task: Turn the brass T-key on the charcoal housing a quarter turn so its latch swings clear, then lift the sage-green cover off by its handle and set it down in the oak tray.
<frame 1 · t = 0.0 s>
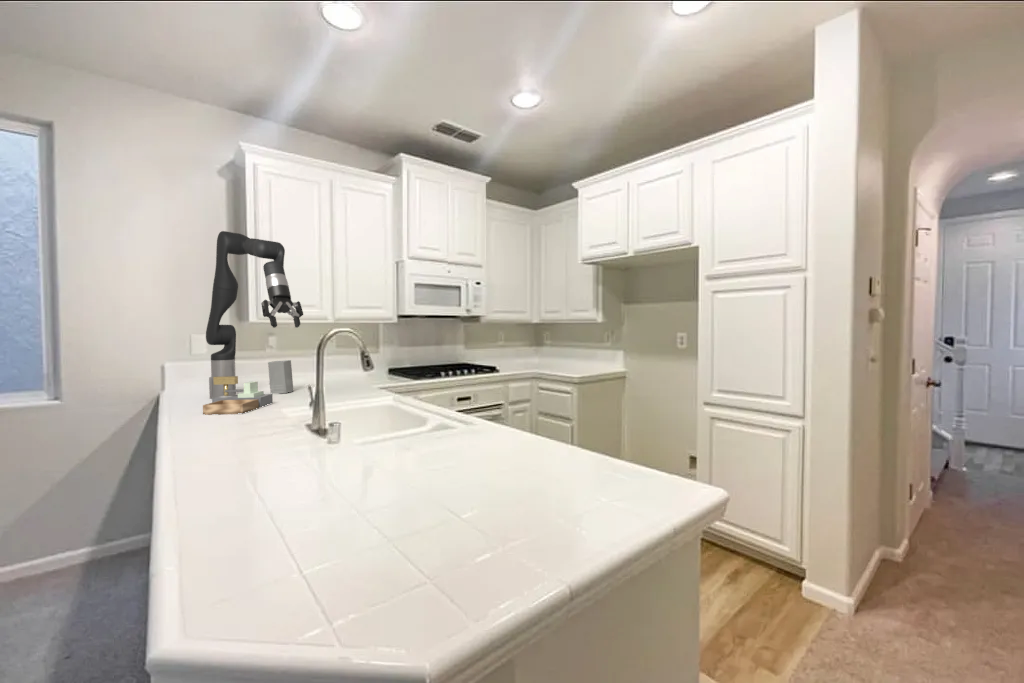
hand: (286, 326, 166), 31 cm above the counter, tool tilted 20°, fingers open, 8 cm apart
cover: (251, 396, 175), point 4 cm above the counter, touching housing
tray: (231, 411, 163), on the counter
skincare box: (281, 393, 213), on the counter
housing: (243, 406, 175), on the counter
key: (230, 386, 175), point 8 cm above the counter, hinge at 0.0°
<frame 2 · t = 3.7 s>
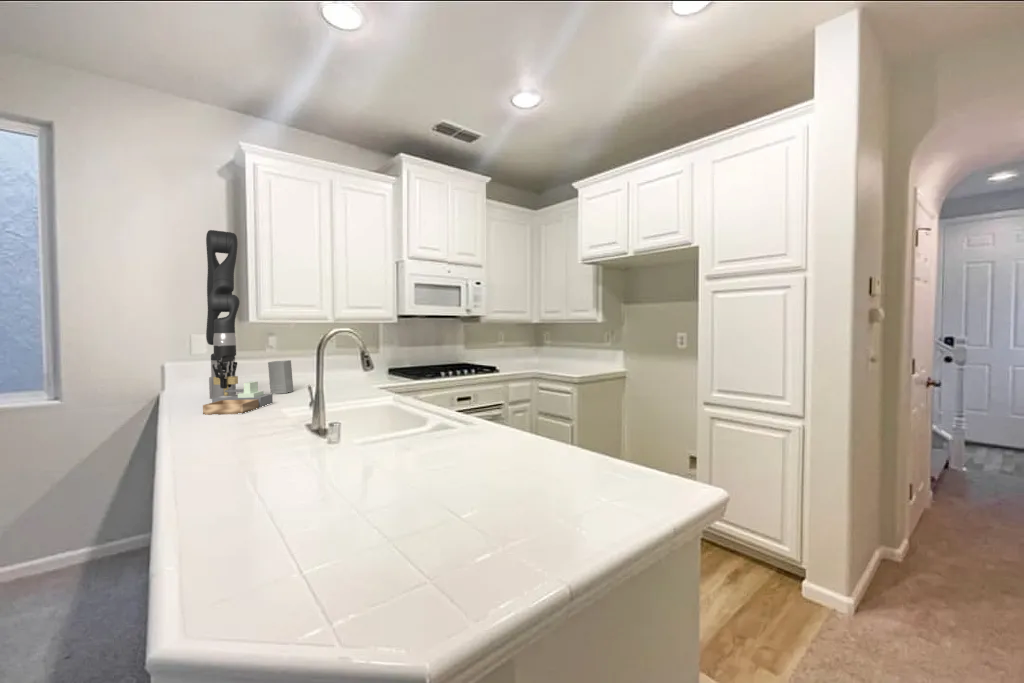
hand: (225, 387, 174), 8 cm above the counter, tool pointing down, fingers closed on key, 2 cm apart
key: (230, 386, 175), point 8 cm above the counter, hinge at 0.0°, touching gripper
everything else where it was.
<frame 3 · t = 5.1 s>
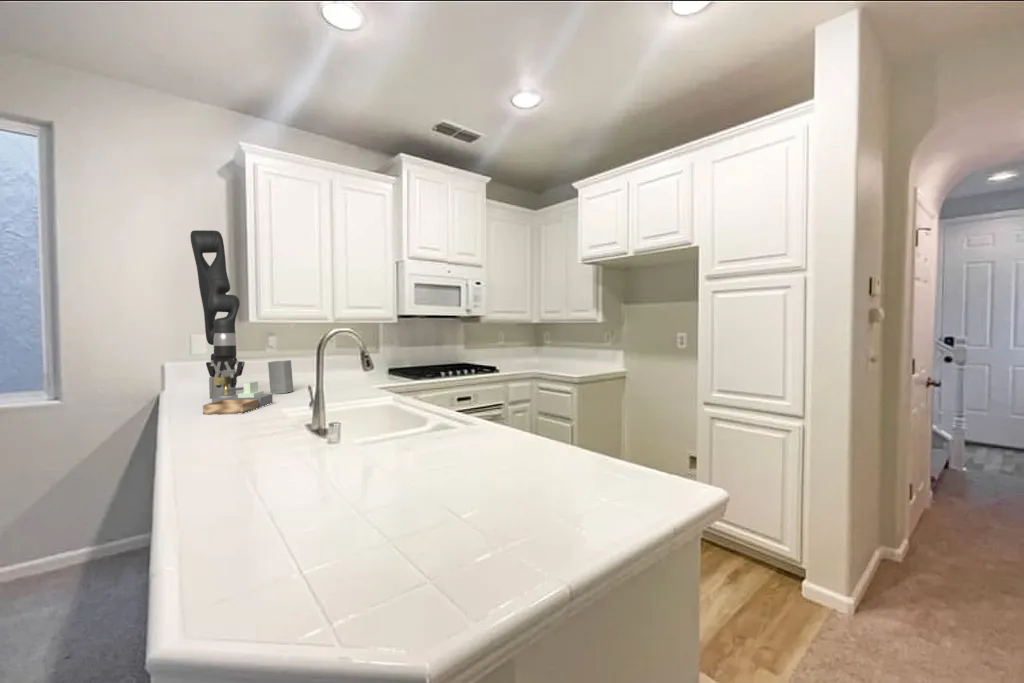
hand: (226, 387, 175), 8 cm above the counter, tool pointing down, fingers open, 4 cm apart
key: (229, 385, 176), point 8 cm above the counter, hinge at 70.1°
everything else where it was.
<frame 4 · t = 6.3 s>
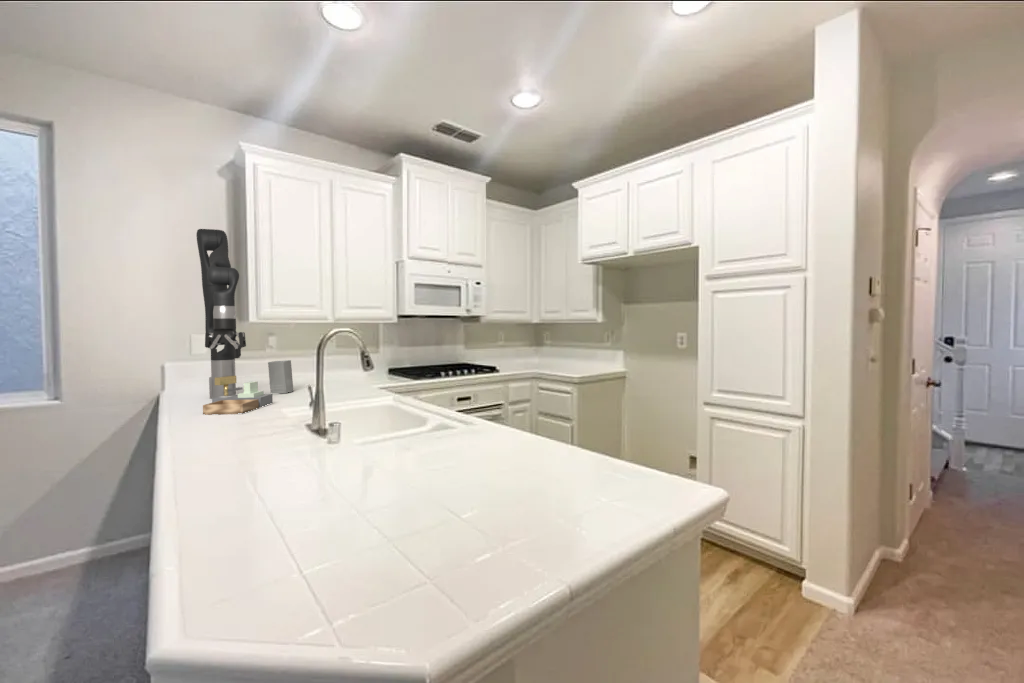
hand: (226, 358, 174), 19 cm above the counter, tool pointing down, fingers open, 8 cm apart
key: (229, 385, 176), point 8 cm above the counter, hinge at 75.5°
everything else where it was.
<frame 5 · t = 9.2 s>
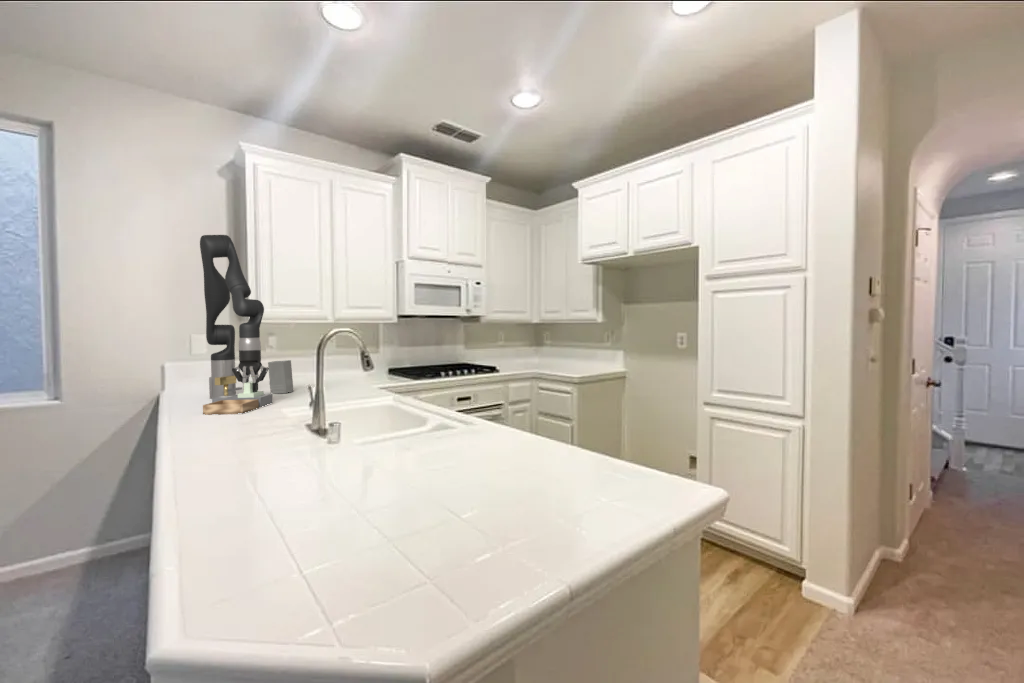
hand: (250, 392, 175), 6 cm above the counter, tool pointing down, fingers closed on cover, 2 cm apart
cover: (251, 396, 175), point 4 cm above the counter, touching gripper, housing
key: (229, 385, 176), point 8 cm above the counter, hinge at 76.2°
everything else where it was.
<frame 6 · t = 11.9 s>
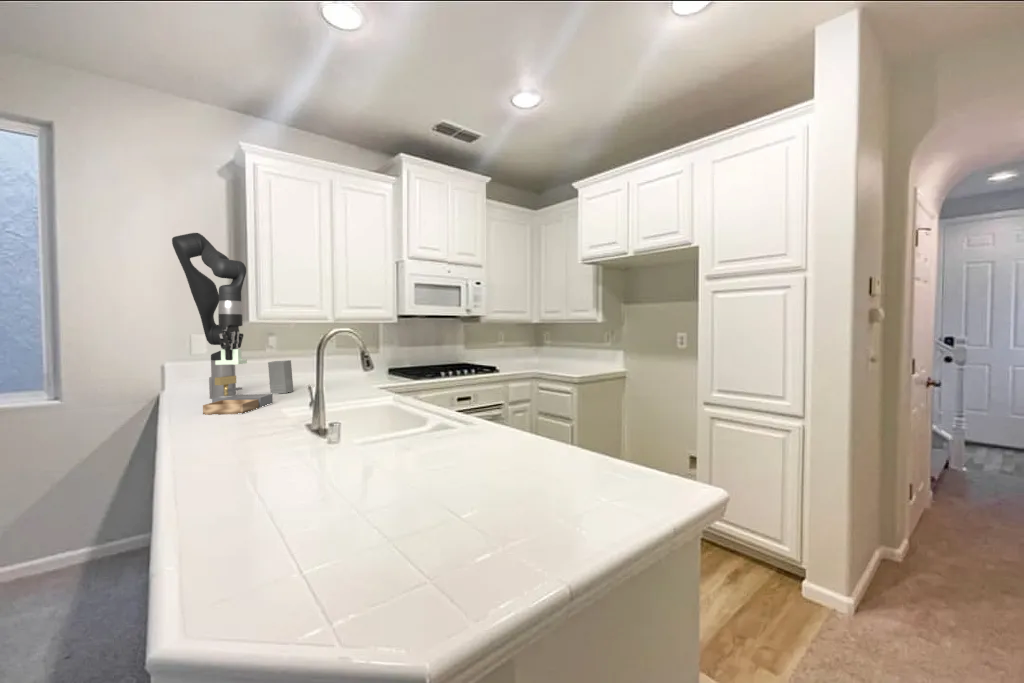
hand: (231, 359, 163), 19 cm above the counter, tool pointing down, fingers closed on cover, 2 cm apart
cover: (231, 364, 163), point 18 cm above the counter, touching gripper
everything else where it was.
when the fingers open (4 cm above the counter, at t = 15.0 s): cover drops 2 cm, resting on tray.
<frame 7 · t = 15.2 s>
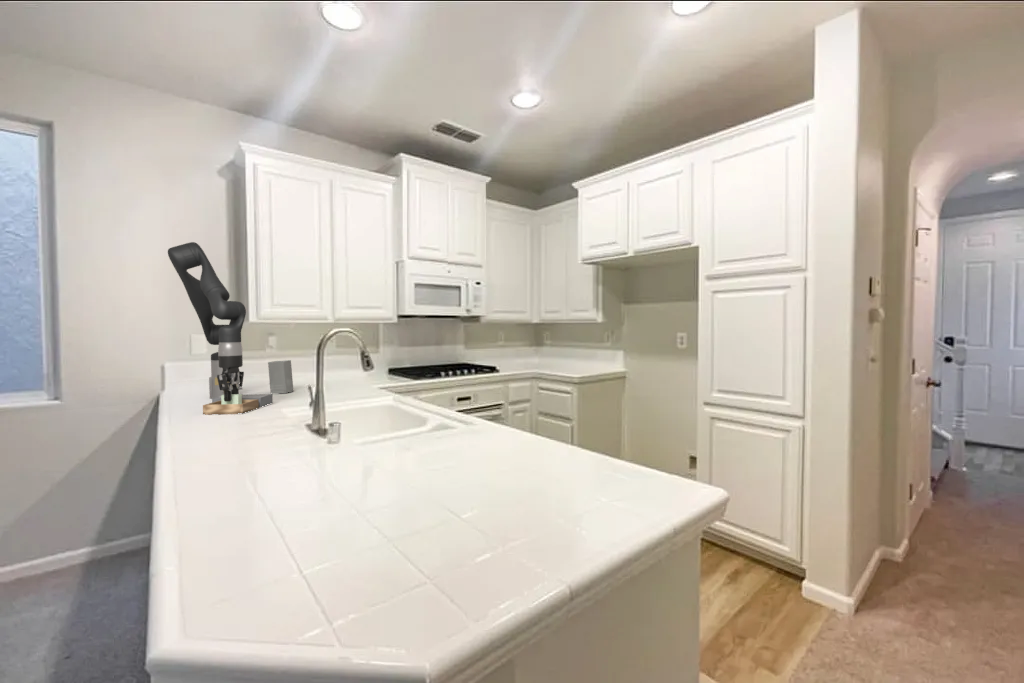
hand: (231, 400, 163), 4 cm above the counter, tool pointing down, fingers open, 4 cm apart
cover: (231, 409, 163), point 1 cm above the counter, touching tray
everything else where it was.
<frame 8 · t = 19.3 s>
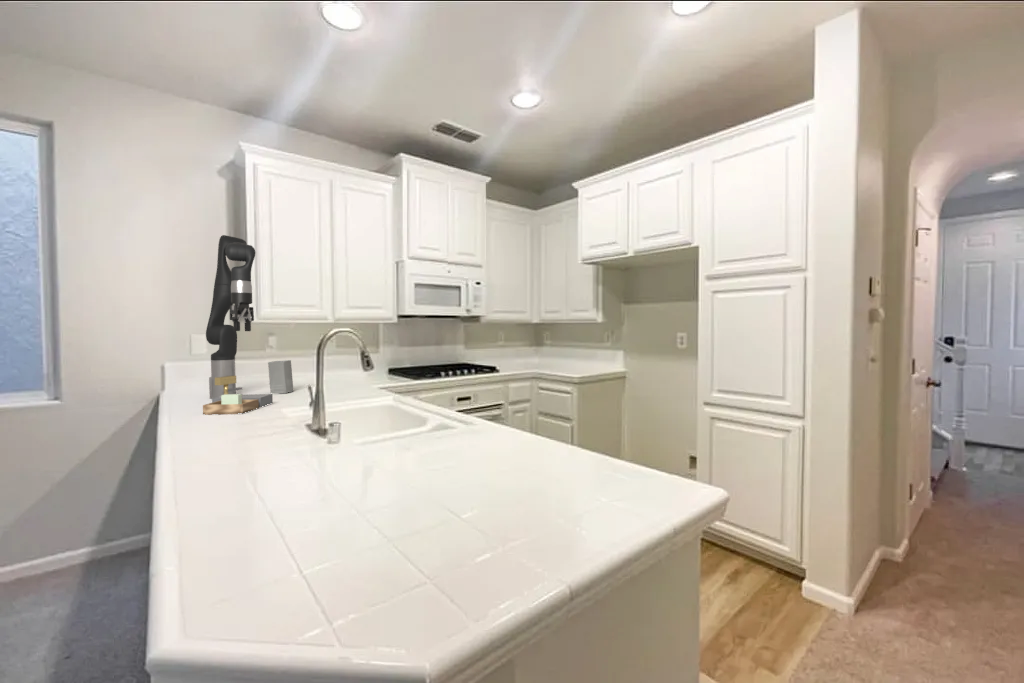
hand: (242, 331, 183), 30 cm above the counter, tool pointing down, fingers open, 8 cm apart
nothing on the counter moved.
at the end: key at +76° (first picture: +0°); cover 0.0 cm off-centre on the tray, point 0.8 cm above the tray's base; cover tilted 0° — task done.
